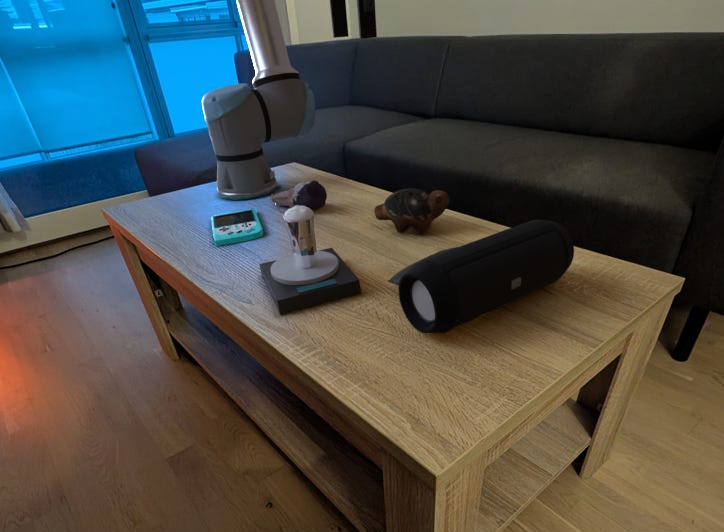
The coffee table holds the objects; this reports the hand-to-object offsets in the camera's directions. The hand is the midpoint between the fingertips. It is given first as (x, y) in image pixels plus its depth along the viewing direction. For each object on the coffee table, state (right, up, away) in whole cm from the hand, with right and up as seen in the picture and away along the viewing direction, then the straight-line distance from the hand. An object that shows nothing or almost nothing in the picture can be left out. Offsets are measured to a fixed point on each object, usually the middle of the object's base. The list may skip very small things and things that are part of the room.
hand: (353, 37), depth 77 cm
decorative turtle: (+11, -30, +13) cm, 34 cm away
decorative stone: (+14, -43, -5) cm, 46 cm away
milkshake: (-8, -41, -5) cm, 42 cm away
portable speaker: (+20, -48, -12) cm, 54 cm away
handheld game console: (-26, -28, +19) cm, 43 cm away
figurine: (-14, -21, +26) cm, 36 cm away
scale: (-7, -44, -4) cm, 44 cm away
